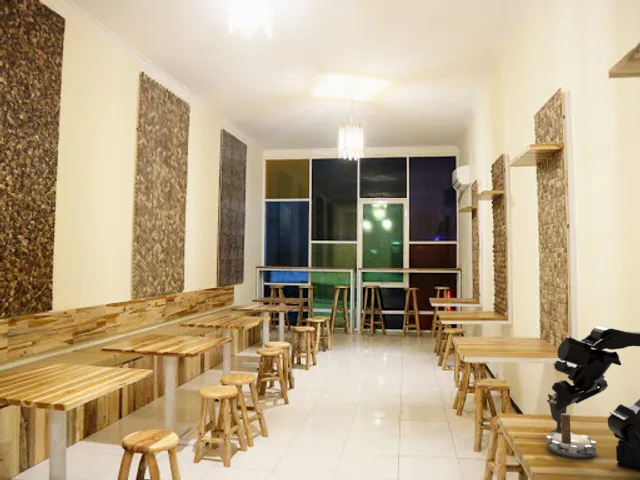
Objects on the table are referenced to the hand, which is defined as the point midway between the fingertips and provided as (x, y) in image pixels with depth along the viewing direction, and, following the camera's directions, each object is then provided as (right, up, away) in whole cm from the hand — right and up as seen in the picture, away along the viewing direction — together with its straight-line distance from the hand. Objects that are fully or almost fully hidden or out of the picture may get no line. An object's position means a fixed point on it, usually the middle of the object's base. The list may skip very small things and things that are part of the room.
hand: (566, 405), depth 143 cm
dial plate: (+2, -14, +1) cm, 14 cm away
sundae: (+6, -15, +16) cm, 22 cm away
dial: (+2, -12, +1) cm, 12 cm away
